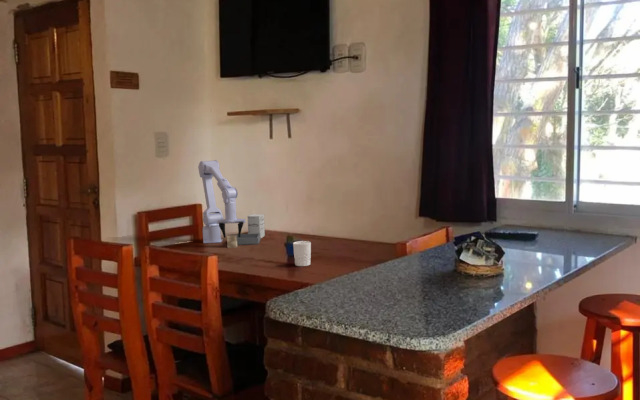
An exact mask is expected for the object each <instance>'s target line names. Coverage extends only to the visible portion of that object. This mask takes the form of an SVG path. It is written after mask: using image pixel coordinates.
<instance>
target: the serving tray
mask: <svg viewBox="0 0 640 400" xmlns="http://www.w3.org/2000/svg"><path fill="white" fill-rule="evenodd" d="M230 235H237V246H249V245H252V246H253V245H259V244H260V242H261V239H262V238H261V235H260V233H254V234H248V233H241V234H240V237H238V233H232V234H230Z"/></svg>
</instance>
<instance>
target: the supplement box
mask: <svg viewBox="0 0 640 400" xmlns="http://www.w3.org/2000/svg"><path fill="white" fill-rule="evenodd" d="M265 229H266V228H265V214H263V213H262V214H258V213H252V214H249V215H247V234H254V233H260V235H261V239H262V238H263V237H265V235H266V234H265V232H266V231H265Z"/></svg>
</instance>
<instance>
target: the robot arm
mask: <svg viewBox="0 0 640 400" xmlns="http://www.w3.org/2000/svg"><path fill="white" fill-rule="evenodd" d="M198 174H199V177H200V178H201V179H202V184H203V192H204V197H205V198H204V199H205V204H206V209H205V210H204V211H203V212H202V222H203V225H204V226H202V242H203V244H212V243H213V244H217V243H219V244H220V243H222V242H223V240H224V239H225V238H227V235H226V234H227V233H226V224H227V225H228V224H237V229H238V233H237V234H238V237H240V234H242V228H243V226H244V224H246V218H237V217H238V216H237V202H236V201H237V198H238V190H237V188H236V186H233V185H231V183H230V182H229V180H228V179H227V178H226V177H224V176H223V174H222V172H221V170H220V163H219V161H218V160H217V159H215V160H204V161H203V160H201V161H200V162H199V163H198ZM213 178H215V180H216V183H217V187H218V188H219V189H220V191H221V196H222V197H221V198H222V200H223V203H224V214H225V216H224V215H223V213H222V210H221V208H218V207H217V202H216V196H215V190H214V185H213ZM224 217H225V218H224ZM221 233H222V235H221ZM222 236H223V238H224V239H223V238H222Z"/></svg>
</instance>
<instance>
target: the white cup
mask: <svg viewBox="0 0 640 400" xmlns="http://www.w3.org/2000/svg"><path fill="white" fill-rule="evenodd" d="M292 246H293V255H294V265H295V266H297V267H307V266H310V265H311V257H312V255H311V253H312V242H311V241H309V240H299V241H294V242H292Z"/></svg>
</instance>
